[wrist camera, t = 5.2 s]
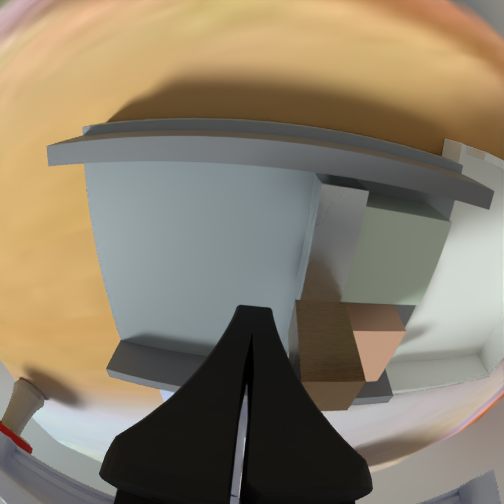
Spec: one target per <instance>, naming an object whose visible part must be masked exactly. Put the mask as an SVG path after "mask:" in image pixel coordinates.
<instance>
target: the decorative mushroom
mask: <svg viewBox="0 0 504 504" xmlns="http://www.w3.org/2000/svg"><path fill="white" fill-rule="evenodd" d="M44 399H45V397H44V395H43V394H42V393H41V392H40V391H39V390H38V389H37V388H36V387H34V386H33V385H32V384H30V383H28V382H27V381H25V380H23V379H19V380H18V381H17V382H15V383H14V387H13V393H12V396H11V399H10V402H9V405H8V407H7V410H6V412H5V414H4V416H3V418H2V420H1V421H0V431H1V432H2V433H3V434H4V435H6V436H7V437H8V438H9V439H11V440H12V441H13V442H14V443H15V444H16V445H17V446H19V447H20V448H21V449H23V450H24V451H26V452H27V453H29V454H31V453H32V448H31V446H30V445H29V444H28V443H27V441H26V440H24V439H23V438H22V437H21V436H20V434H21V432H22V430H23V429H24V427H25V425H26V424H27V422H28V421H29V419H30V418H31V417H32V415H33V414H34V413H35V412H36V411H37V410H38V409H40V408H41V407H43V405H44Z"/></svg>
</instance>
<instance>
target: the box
mask: <svg viewBox="0 0 504 504" xmlns="http://www.w3.org/2000/svg"><path fill="white" fill-rule="evenodd" d="M442 157H445V158H447V159H450V160H452V161H454V162H457V163H459V164H461V165H463V169H462V173H461V174H463V175H465V176H467V177H469V178H471V179H473V180H475V181H477V182H479V183H481V184H483V185H484V186H486V187H488V188H490V189H492V190H493V191H494V195H493V199H492V202H491V206H490V209H489V210H488V209H484V208H481V207H478V206H474V205H471V204H467V203H464V202H460V201H457V200H455V202H454V205H453V209H452V212H451V216H450V219H449V220H450V221H451V222H452V224H451V228H450V231H449V234H448V237H447V239H446V242H445V245H444V248H443V251H442V253H441V256H440V259H439V261H438V264H437V266H436V269H435V271H434V274H433V276H432V279H431V281H430V283H429V286H428V288H427V290H426V292H425V295H424V297H423V299H422V301H421V303H420V305H416V306H415V309H414V311H413V313H412V315H411V317H410V319H409V321H408V323H407V325H406V327H405V329H406V333H405V335H404V337H403V338H402V340H401V342H400V344H399V346H398V347H397V349H396V351H395V353H394V354H393V356H392V358H391V359H390V361H389V363H388V364H387V366H386V368H385V369H386V372H387V376H388V379H389V382H390V386H391V389H392V393H393V394H396V393H405V392H413V391H420V390H427V389H433V388H439V387H445V386H450V385H455V384H460V383H464V382H469V381H473V380H477V379H481V378H485V377H489V376H490V374H491V373H492V372H493V371H494V369H495V368H496V367H497V366H498V364H499V363H500V362H501V360H502V359H503V358H504V160H502V159H500V158H498V157H496V156H494V155H492V154H489V153H487V152H485V151H482V150H479V149H477V148H474V147H471V146H468V145H465V144H463V143H460V142H457V141H453V140H450V139H447V138H445V140H444V146H443V151H442Z"/></svg>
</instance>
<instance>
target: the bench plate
mask: <svg viewBox="0 0 504 504" xmlns="http://www.w3.org/2000/svg"><path fill="white" fill-rule="evenodd" d="M47 155H48V166H56V165H68V164H82V163H84V165H85V177H86V186H87V195H88V203H89V210H90V216H91V223H92V229H93V234H94V240H95V245H96V250H97V255H98V259H99V264H100V268H101V273H102V277H103V281H104V285H105V289H106V293H107V296H108V300H109V304H110V307H111V311H112V314H113V317H114V320H115V324H116V327H117V330H118V333H119V336H120V339H121V341H120V343H119V345H118V346H117V348H116V350H115V352H114V354H113V356H112V358H111V360H110V362H109V364H108V366H107V368H106V370H107V372H108V374H109V376H110V377H113V378H117V379H120V380H124V381H127V382H131V383H135V384H139V385H143V386H147V387H152V388H156V389H161V390H165V391H170V392H176V391H177V390H178V389H179V388H180V387H181V386H182V385H183V384H184V383H185V382H186V381H187V380H188V379H189V378H190V377H191V376H192V375H193V374H194V373H195V372H196V370H197V369H198V368H199V367H200V366H201V364H202V363H203V362H204V361H205V359H206V358H207V357H208V355H209V354H210V353H211V351H212V350H213V349H214V347H215V346H216V344H217V343H218V341H219V340H220V338H221V336H222V335H223V333H224V332H225V330H226V328H227V327H228V325H229V323H230V321H231V319H232V317H233V315H234V313H235V310H236V307H237V306H238V305H250V306H260V307H270V308H271V309H272V311H273V317H274V321H275V324H276V328H277V331H278V334H279V336H280V339H281V342H282V344H284V339H285V335H286V330H287V326H288V321H289V316H290V312H291V307H292V302H293V297H294V292H295V287H296V282H297V276H298V271H299V266H300V260H301V255H302V249H303V244H304V238H305V232H306V226H307V220H308V214H309V208H310V201H311V195H312V188H313V181H314V174H315V173H321V174H328V175H335V176H341V177H347V178H353V179H357V180H358V181H359V182H360V183H361V184H362V185H363V186H364V187H365V188H366V189H367V190H368V191H369V193H373V194H379V195H385V196H390V197H395V198H401V199H406V200H411V201H415V202H420V203H425V204H429V205H431V206H432V207H433V208H435V209H436V210H437V211H438V212H440V213H441V214H442V215H443V216H445V217H446V218H447V219H448V220H449V219H450V216H451V212H452V209H453V205H454V202H455V200H457V201H460V202H464V203H467V204H471V205H474V206H478V207H481V208H484V209H488V210H489V209H490V206H491V202H492V199H493V195H494V191H493V190H492V189H490V188H488V187H486V186H484V185H483V184H481V183H479V182H477V181H475V180H473V179H471V178H469V177H467V176H465V175H463V174H461V173H462V169H463V165H461V164H459V163H457V162H454V161H452V160H450V159H447V158H445V157H442V156H439V155H436V154H433V153H430V152H427V151H423V150H420V149H416V148H413V147H409V146H406V145H402V144H398V143H394V142H390V141H386V140H382V139H378V138H373V137H369V136H364V135H359V134H354V133H349V132H344V131H339V130H333V129H327V128H321V127H314V126H307V125H299V124H291V123H282V122H273V121H262V120H248V119H230V118H156V119H139V120H126V121H115V122H106V123H100V124H95V125H90V126H85V127H83V136H79V137H76V138H72V139H69V140H65V141H62V142H59V143H55V144H52V145H49V146H47ZM340 303H354V302H340ZM356 304H374V303H356ZM377 305H394V306H395V308H396V310H397V312H398V314H399V317H400V319H401V321H402V323H403V325H404V327H406V325H407V323H408V321H409V319H410V317H411V315H412V313H413V311H414V309H415V306H416V305H398V304H377ZM392 396H393V393H392V389H391V386H390V382H389V379H388V376H387V372H386V369H384V371H383V372H382V374H381V376H380V377H379V379H378V380H377V381H369V382H365V384H364V385H363V387H362V388H361V390H360V392H359V393H358V395H357V396H356V398H355V399H354V401H353V402H352V404H351V405H363V404H376V403H386V402H389V400H390V399H391V398H392ZM243 402H244V403H247V386H246V391H245V395H244V400H243Z"/></svg>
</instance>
